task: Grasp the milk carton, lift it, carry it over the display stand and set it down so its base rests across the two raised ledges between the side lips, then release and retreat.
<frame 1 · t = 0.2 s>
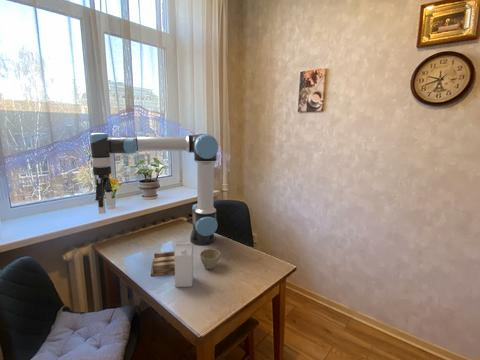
hand: (105, 208, 122), 28 cm above the table, fingers open, 13 cm apart
flower pot: (210, 267, 124), on the table
display stand: (168, 266, 124), on the table
milk carton: (184, 282, 111), on the table
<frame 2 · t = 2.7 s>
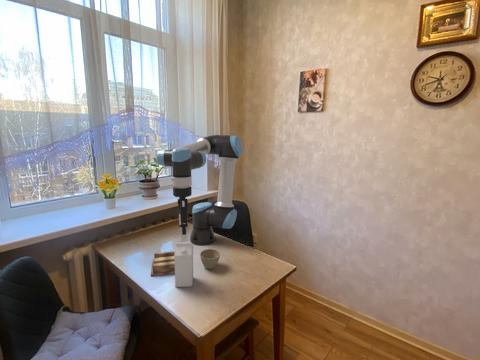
hand: (183, 234, 106), 23 cm above the table, fingers open, 13 cm apart
nothing on the table moved.
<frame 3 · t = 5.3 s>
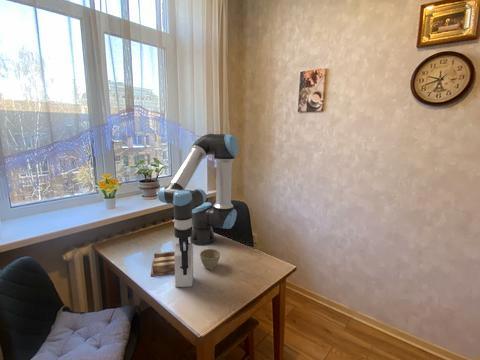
hand: (184, 274, 110), 4 cm above the table, fingers closed on milk carton, 8 cm apart
milk carton: (184, 282, 111), on the table, touching gripper
everything else where it was.
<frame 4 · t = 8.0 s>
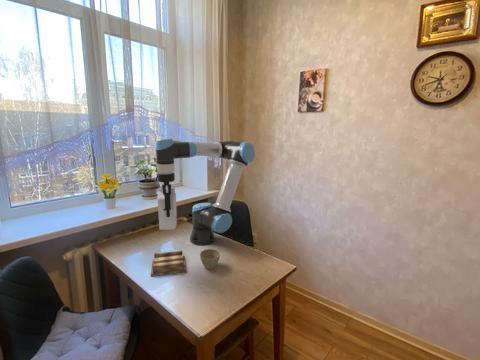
hand: (168, 219, 118), 25 cm above the table, fingers closed on milk carton, 8 cm apart
milk carton: (168, 227, 119), point 21 cm above the table, touching gripper
everything else where it was.
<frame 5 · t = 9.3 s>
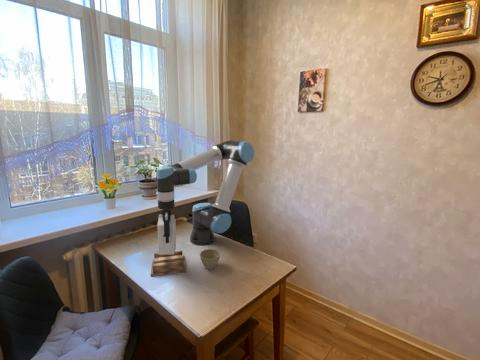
hand: (167, 244, 121), 12 cm above the table, fingers closed on milk carton, 8 cm apart
milk carton: (167, 251, 122), point 8 cm above the table, touching gripper
everything else where it was.
when the fingers open (8 cm above the table, at t = 10.6 s): milk carton stays where it is, resting on display stand.
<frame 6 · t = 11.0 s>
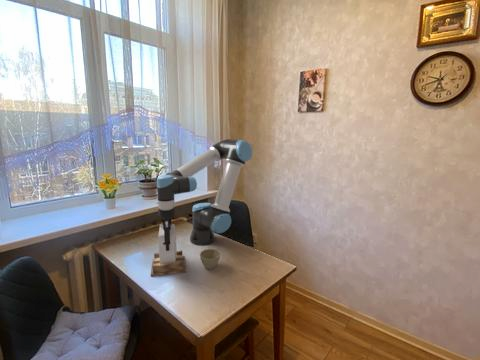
hand: (168, 249, 122), 9 cm above the table, fingers open, 12 cm apart
milk carton: (168, 260, 123), point 3 cm above the table, touching display stand
everything else where it was.
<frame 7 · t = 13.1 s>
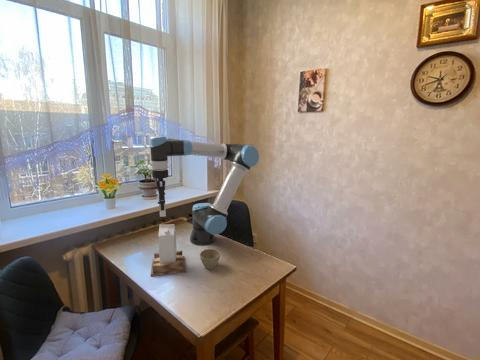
hand: (162, 211, 122), 27 cm above the table, fingers open, 13 cm apart
nothing on the table moved.
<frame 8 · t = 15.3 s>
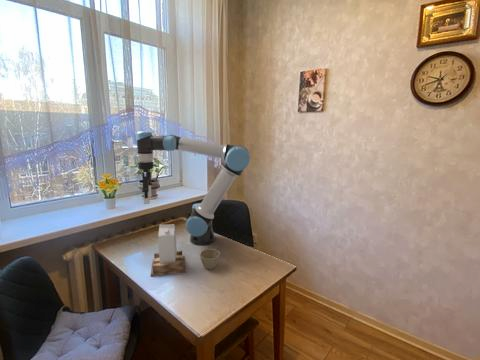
hand: (147, 200, 135), 29 cm above the table, fingers open, 13 cm apart
nothing on the table moved.
at the end: milk carton inside the target area on the display stand (0.2 cm from its centre), point 2.8 cm above the display stand's base; milk carton tilted 0°; the gripper is holding nothing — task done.
